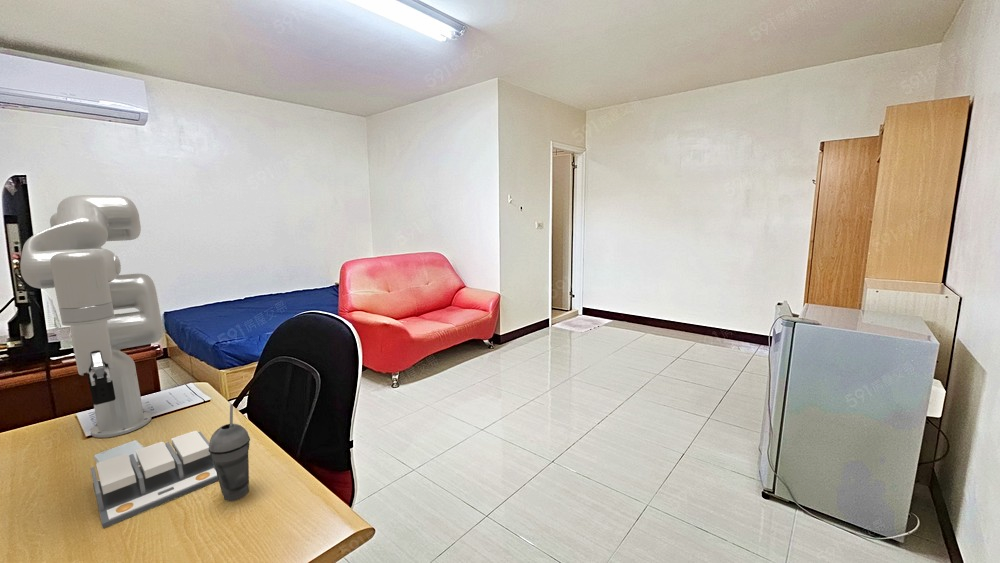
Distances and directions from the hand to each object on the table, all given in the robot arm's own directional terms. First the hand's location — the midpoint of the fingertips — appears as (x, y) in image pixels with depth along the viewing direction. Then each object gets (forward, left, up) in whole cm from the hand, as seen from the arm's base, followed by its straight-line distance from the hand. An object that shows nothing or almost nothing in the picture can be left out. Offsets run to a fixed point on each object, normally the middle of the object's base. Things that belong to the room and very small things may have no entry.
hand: (102, 395), depth 85 cm
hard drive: (-16, +2, -23) cm, 28 cm away
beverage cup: (+19, +16, -22) cm, 34 cm away
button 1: (0, 0, -19) cm, 19 cm away
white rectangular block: (0, +6, -19) cm, 20 cm away
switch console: (+2, +6, -22) cm, 23 cm away
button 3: (0, +13, -19) cm, 23 cm away
